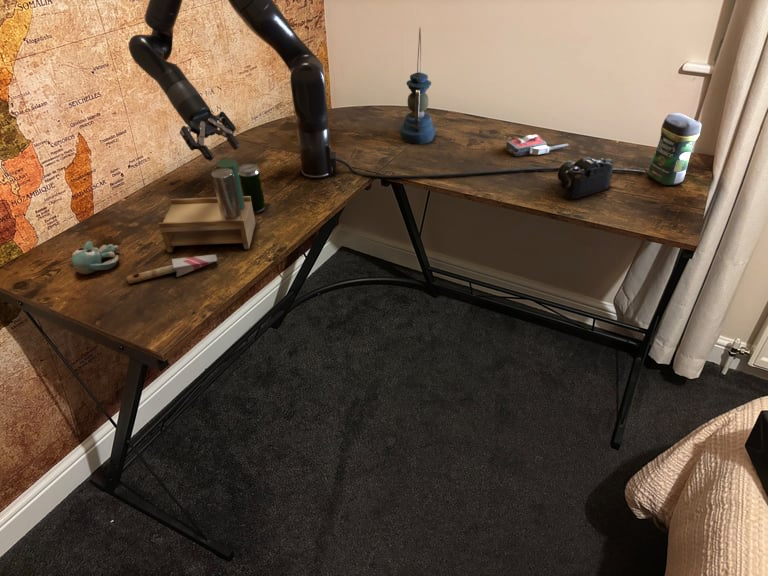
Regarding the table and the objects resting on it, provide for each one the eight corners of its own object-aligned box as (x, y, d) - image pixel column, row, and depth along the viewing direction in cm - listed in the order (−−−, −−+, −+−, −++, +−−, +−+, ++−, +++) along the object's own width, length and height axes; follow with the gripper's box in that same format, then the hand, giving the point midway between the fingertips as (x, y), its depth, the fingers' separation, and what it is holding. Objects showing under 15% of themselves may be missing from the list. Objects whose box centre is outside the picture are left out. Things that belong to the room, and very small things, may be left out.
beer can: (250, 215, 149) (242, 174, 141) (242, 207, 152) (234, 167, 145) (268, 209, 151) (262, 169, 144) (260, 201, 155) (254, 162, 147)
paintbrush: (216, 256, 128) (126, 280, 123) (219, 266, 130) (130, 289, 125) (213, 248, 131) (125, 270, 126) (216, 257, 133) (130, 279, 128)
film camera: (574, 171, 166) (581, 140, 160) (613, 185, 159) (621, 152, 153) (541, 192, 156) (547, 159, 150) (581, 207, 149) (589, 174, 143)
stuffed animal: (130, 234, 132) (90, 253, 122) (135, 262, 135) (96, 282, 125) (95, 227, 135) (53, 244, 125) (100, 253, 138) (60, 272, 128)
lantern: (402, 129, 194) (403, 21, 172) (436, 130, 193) (440, 21, 171) (397, 145, 183) (397, 32, 161) (433, 147, 182) (438, 33, 160)
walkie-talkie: (515, 160, 173) (569, 150, 178) (517, 147, 170) (572, 137, 175) (501, 149, 179) (553, 139, 185) (502, 136, 177) (555, 127, 182)
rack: (255, 223, 145) (243, 156, 134) (249, 249, 136) (235, 179, 124) (179, 226, 145) (159, 159, 133) (167, 252, 135) (145, 182, 124)
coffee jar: (641, 174, 164) (660, 112, 153) (663, 169, 166) (683, 108, 155) (665, 188, 157) (686, 125, 145) (687, 183, 159) (709, 121, 147)
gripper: (168, 102, 139) (207, 156, 140) (213, 86, 148) (250, 137, 149) (161, 118, 145) (199, 169, 146) (205, 102, 153) (240, 151, 155)
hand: (224, 153), depth 148 cm, fingers open, 8 cm apart
